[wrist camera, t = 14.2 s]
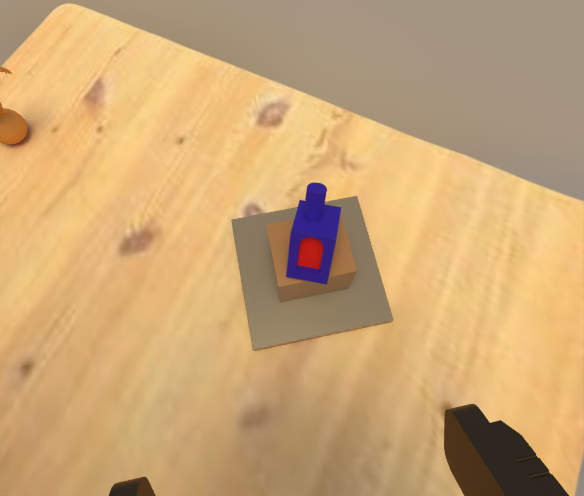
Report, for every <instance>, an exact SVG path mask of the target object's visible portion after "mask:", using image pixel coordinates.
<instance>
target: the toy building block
mask: <svg viewBox="0 0 584 496" xmlns="http://www.w3.org/2000/svg"><path fill="white" fill-rule="evenodd" d="M326 192H327V188H326V186H325V185H323V184H321V183H310V184H309V185H308V186H307V192H306V200H305V201H303V200H300V201H299V205H298V208H297V212H296V215H295V218H294V222H293V225H292V229H291V234H290V244H289V253H288V262H287V272H286V277H289V278H294V279H299V280H304V281H310V282H315V283H320V284H325V285H327V282H328V277H329V273H330V268H331V263H332V258H333V254H334V249H335V244H336V239H337V233H338V227H339V220H340V214H341V208H342V207H336V206H331V205H325V204H324V203H325V198H326Z"/></svg>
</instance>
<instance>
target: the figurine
mask: <svg viewBox="0 0 584 496" xmlns="http://www.w3.org/2000/svg"><path fill="white" fill-rule="evenodd" d="M0 72H5V73H6V74H7V72H8V73H9V74H10V73H11V72H10V71H9V70H8V69H6V68H3V67H0ZM11 74H12V73H11ZM26 134H27V124H26V122H25V120H24V119H23V117H22V116H21V115H19V114H18V113H17V112H15V111H13V110H10V109H3V107H2V105H1V103H0V142H1V143H4V144H15V143H18V142H20V141H22V140H23V139H24V138H25V136H26Z"/></svg>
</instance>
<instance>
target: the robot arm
mask: <svg viewBox="0 0 584 496" xmlns="http://www.w3.org/2000/svg"><path fill="white" fill-rule="evenodd" d="M444 450H445V455H446V459H447V462H448V465H449V467H450V470H451V472H452V474H453V476H454V477H455V479H456V481H457V483H458V485H459V487H460V488H461V490H462V492H463V494H464V496H569V495H568V494H567V492H566V491H565V490H564V489H563V487H562V486H561V485H560V484H559V482H558V481H557V480H556V478H555V477H554V476H553V475H552V474H550V473H549V470H548V468H547V467H546V466H545V465H544V463H543V462H542V461H541V459H540V458H538V457H537V456H536V453H535V452H534V451H533V449H532V448H531V447H530V446H529V444H528V443H527V442H526V441H525V439H524V438H523V437H522V435H520V434H519V433H518V432H516V431H515V430H513V429H512V428H511V427H509V426H508V425H506V424H505V423H504V422H502V421H501V420H500V421H496V422H492V423H489V421H488V420H487V418H486V417H485V416H484V414H483V413H482V412H481V410H480V409H479V408H478V407H477V406H476V405H475V404H469V405H465V406H460V407H456V408H451V409H447V410H446V411H445V425H444ZM109 496H155V494H154V491H153V489H152V487H151V485H150V483H149V481H148V479H147V478H146V477H141V478H136V479H132V480H128V481H123V482H119V483H115V484H114V485H113V487H112V488H111V491H110V494H109Z"/></svg>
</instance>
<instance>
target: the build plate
mask: <svg viewBox="0 0 584 496" xmlns="http://www.w3.org/2000/svg"><path fill="white" fill-rule="evenodd" d="M324 204H325V205H331V206H336V207H342V208H341V214H340V220H339V227H338V233H337V239H336V244H335V249H334V254H333V258H332V263H331V268H330V273H329V277H328V282H327V285H325V284H320V283H315V282H310V281H304V280H299V279H294V278H289V277H286V272H287V262H288V253H289V244H290V234H291V229H292V225H293V222H294V218H295V215H296V212H297V208H298V207H296V208H291V209H285V210H280V211H275V212H270V213H264V214H259V215H254V216H248V217H243V218H238V219H233V220H232V226H233V232H234V238H235V244H236V250H237V256H238V262H239V268H240V274H241V280H242V286H243V292H244V298H245V304H246V310H247V316H248V322H249V328H250V334H251V340H252V346H253V350H254V351H256V350H261V349H266V348H270V347H275V346H280V345H285V344H289V343H294V342H299V341H303V340H308V339H313V338H318V337H322V336H327V335H332V334H337V333H341V332H346V331H351V330H356V329H360V328H365V327H370V326H375V325H379V324H384V323H389V322H392V321H393V317H392V314H391V310H390V307H389V304H388V300H387V297H386V293H385V290H384V286H383V283H382V280H381V276H380V273H379V269H378V266H377V263H376V259H375V256H374V252H373V249H372V246H371V242H370V239H369V235H368V232H367V229H366V225H365V222H364V218H363V215H362V212H361V208H360V205H359V201H358V198H357V196H354V197H349V198H343V199H338V200H333V201H328V202H325V203H324Z"/></svg>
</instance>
